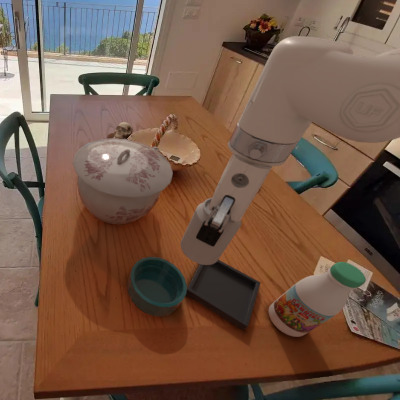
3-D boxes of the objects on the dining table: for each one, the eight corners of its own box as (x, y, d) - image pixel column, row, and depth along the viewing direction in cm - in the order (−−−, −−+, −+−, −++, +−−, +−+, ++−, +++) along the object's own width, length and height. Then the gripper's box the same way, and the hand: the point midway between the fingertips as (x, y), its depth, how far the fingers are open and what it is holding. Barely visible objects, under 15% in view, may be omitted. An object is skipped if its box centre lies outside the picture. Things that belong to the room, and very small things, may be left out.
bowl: (187, 287, 65) (194, 276, 62) (166, 329, 58) (173, 319, 54) (142, 259, 71) (146, 248, 67) (117, 294, 63) (120, 283, 60)
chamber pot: (70, 240, 74) (74, 181, 60) (70, 178, 94) (72, 124, 80) (169, 241, 76) (195, 185, 62) (148, 180, 96) (164, 127, 82)
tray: (256, 286, 67) (260, 282, 65) (243, 330, 59) (247, 326, 57) (202, 257, 72) (205, 252, 71) (184, 293, 64) (187, 289, 63)
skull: (127, 149, 109) (115, 126, 106) (110, 155, 117) (99, 134, 115) (142, 138, 115) (132, 116, 113) (125, 145, 124) (115, 124, 121)
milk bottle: (268, 297, 65) (323, 247, 51) (304, 314, 62) (373, 266, 48) (266, 325, 60) (327, 277, 46) (305, 345, 57) (383, 300, 43)
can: (218, 272, 50) (249, 230, 42) (178, 261, 52) (199, 217, 44) (216, 243, 55) (243, 200, 47) (179, 233, 57) (199, 190, 49)
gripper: (282, 183, 30) (219, 271, 42) (298, 128, 41) (244, 211, 52) (215, 158, 33) (174, 247, 45) (245, 113, 44) (206, 194, 56)
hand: (212, 227), depth 49 cm, fingers closed on can, 7 cm apart
